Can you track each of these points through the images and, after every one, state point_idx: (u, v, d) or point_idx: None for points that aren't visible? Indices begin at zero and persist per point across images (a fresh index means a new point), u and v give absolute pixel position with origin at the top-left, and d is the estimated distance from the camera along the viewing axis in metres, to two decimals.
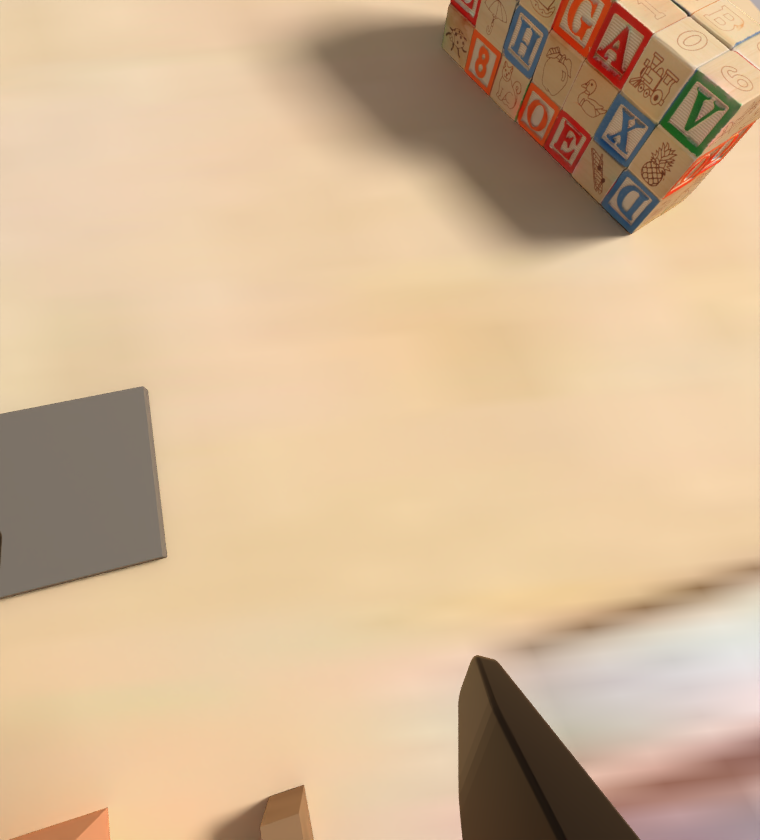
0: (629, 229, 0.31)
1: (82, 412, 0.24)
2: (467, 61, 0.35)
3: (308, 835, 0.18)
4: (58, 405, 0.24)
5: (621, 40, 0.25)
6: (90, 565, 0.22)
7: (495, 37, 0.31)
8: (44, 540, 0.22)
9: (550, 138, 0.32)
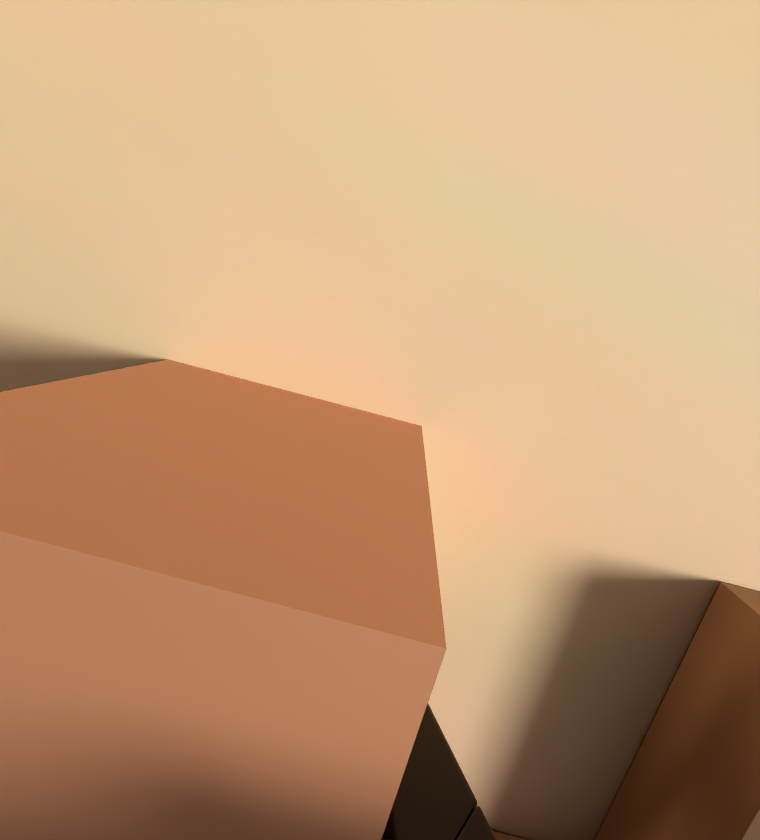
0: None
1: None
2: None
3: None
4: None
5: None
6: None
7: None
8: None
9: None
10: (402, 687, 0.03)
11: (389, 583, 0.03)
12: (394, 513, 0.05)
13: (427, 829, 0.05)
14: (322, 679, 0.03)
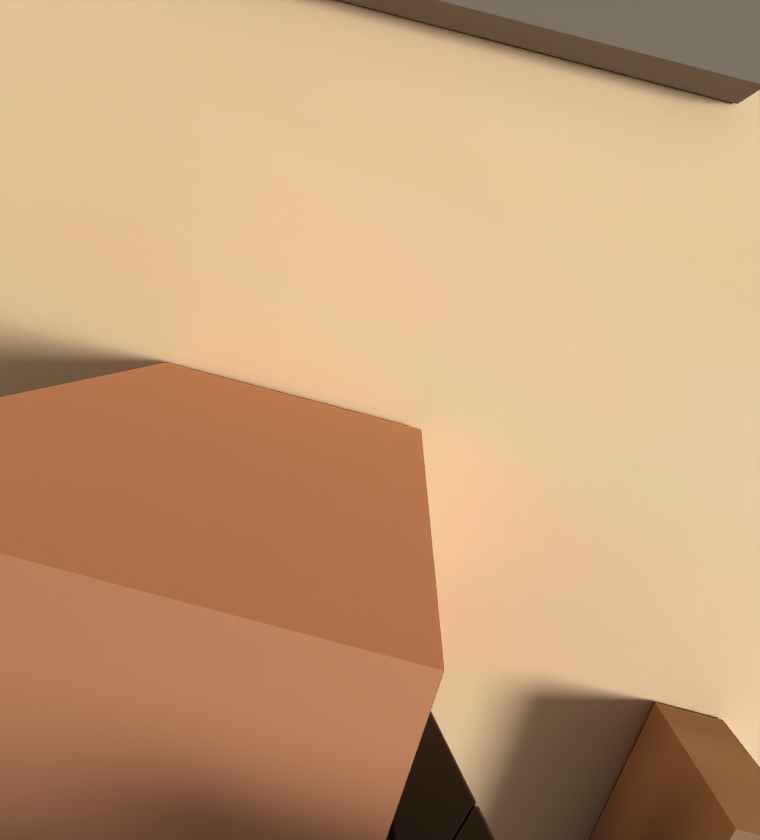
0: None
1: None
2: None
3: None
4: None
5: None
6: None
7: None
8: None
9: None
10: (399, 709, 0.03)
11: (386, 598, 0.03)
12: (391, 524, 0.05)
13: (425, 829, 0.05)
14: (316, 702, 0.03)
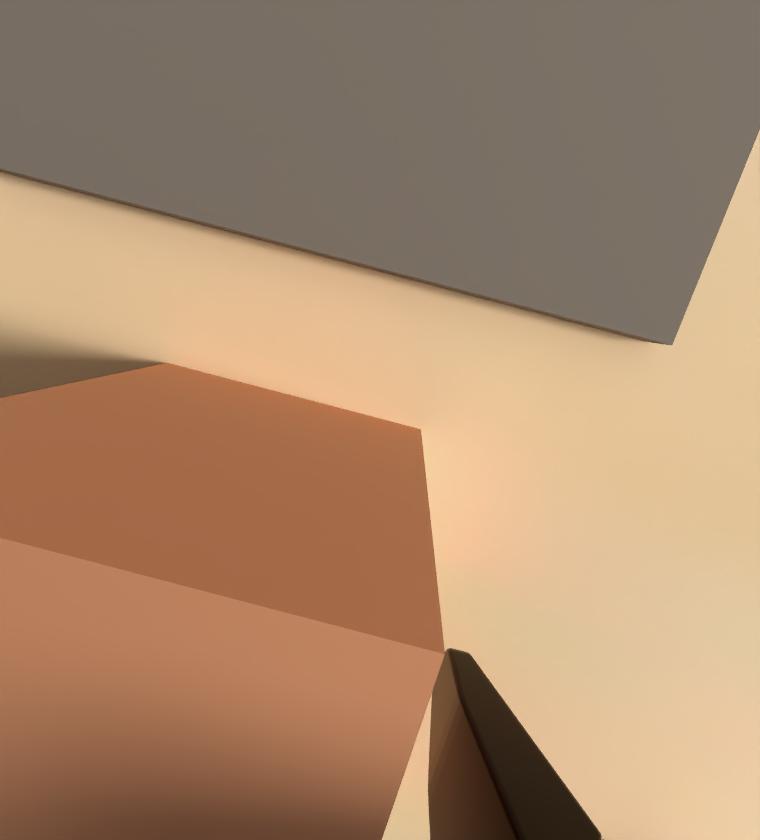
0: None
1: None
2: None
3: None
4: None
5: None
6: (488, 268, 0.07)
7: None
8: (398, 125, 0.07)
9: None
10: (401, 692, 0.03)
11: (389, 588, 0.04)
12: (393, 517, 0.05)
13: None
14: (322, 687, 0.03)
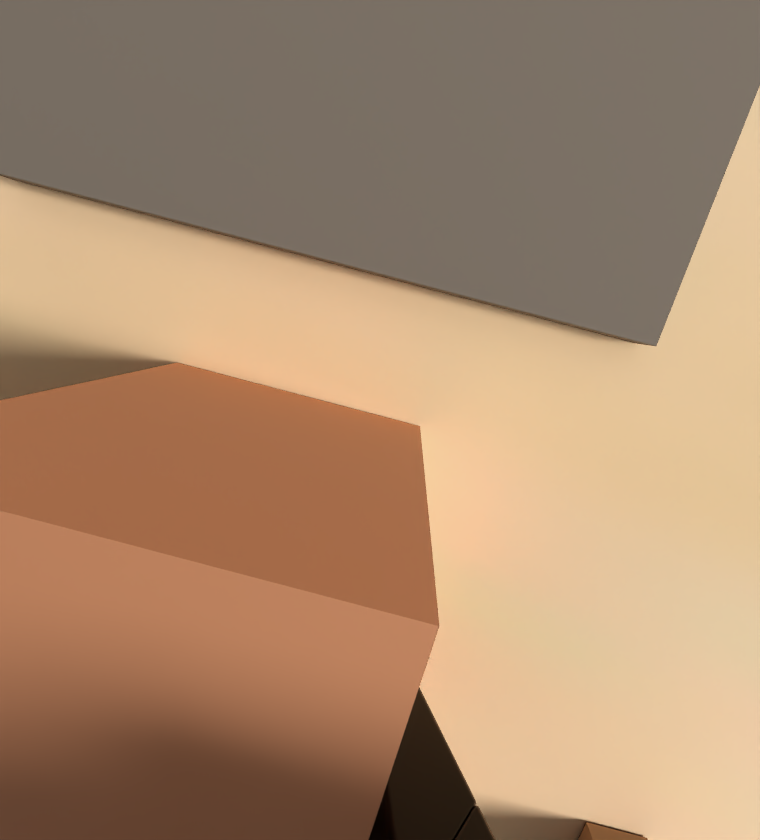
0: None
1: None
2: None
3: None
4: None
5: None
6: (482, 273, 0.08)
7: None
8: (398, 139, 0.07)
9: None
10: (400, 661, 0.03)
11: (388, 569, 0.04)
12: (393, 508, 0.05)
13: (426, 829, 0.05)
14: (327, 657, 0.03)
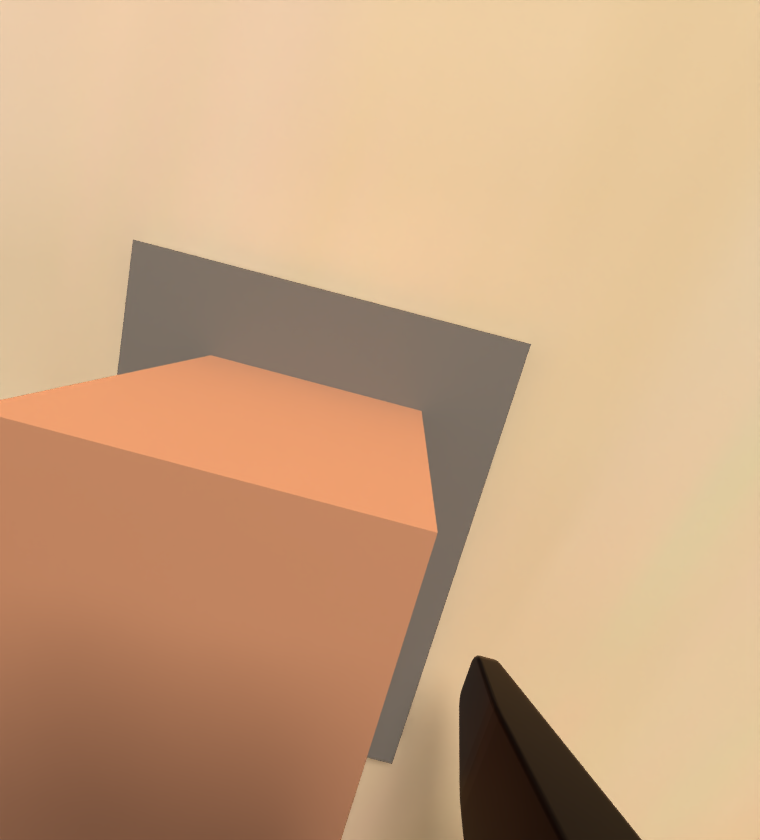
0: None
1: None
2: None
3: None
4: None
5: None
6: (469, 474, 0.11)
7: None
8: None
9: None
10: (410, 559, 0.05)
11: (400, 500, 0.05)
12: (402, 465, 0.06)
13: None
14: (358, 555, 0.05)
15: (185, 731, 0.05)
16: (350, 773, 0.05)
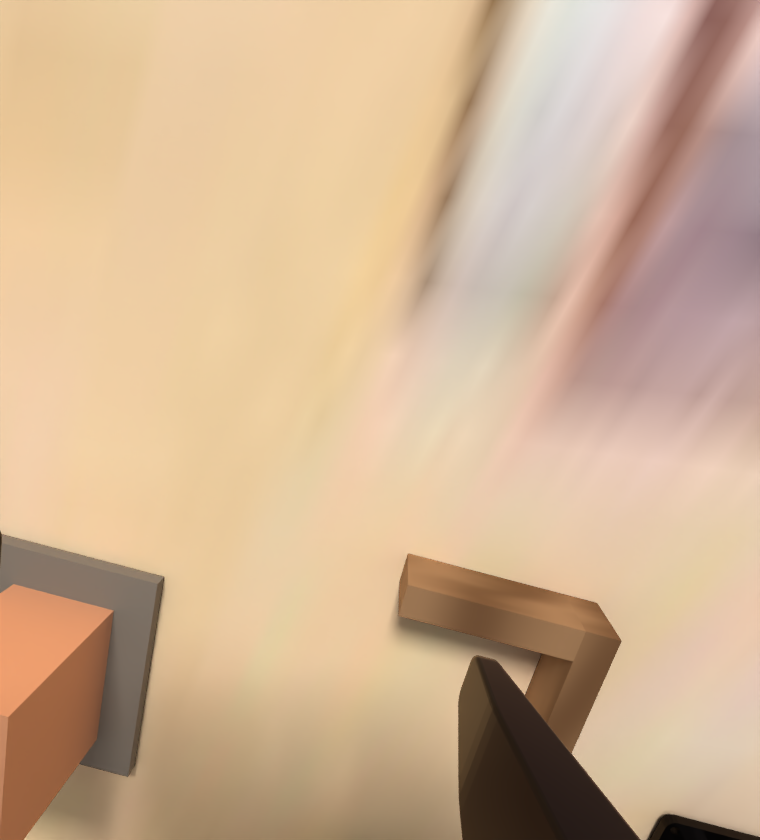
0: None
1: None
2: None
3: (437, 575, 0.20)
4: None
5: None
6: (140, 638, 0.22)
7: None
8: None
9: None
10: (2, 723, 0.16)
11: (10, 701, 0.17)
12: (37, 675, 0.18)
13: None
14: None
15: None
16: None
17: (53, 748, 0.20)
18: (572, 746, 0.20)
